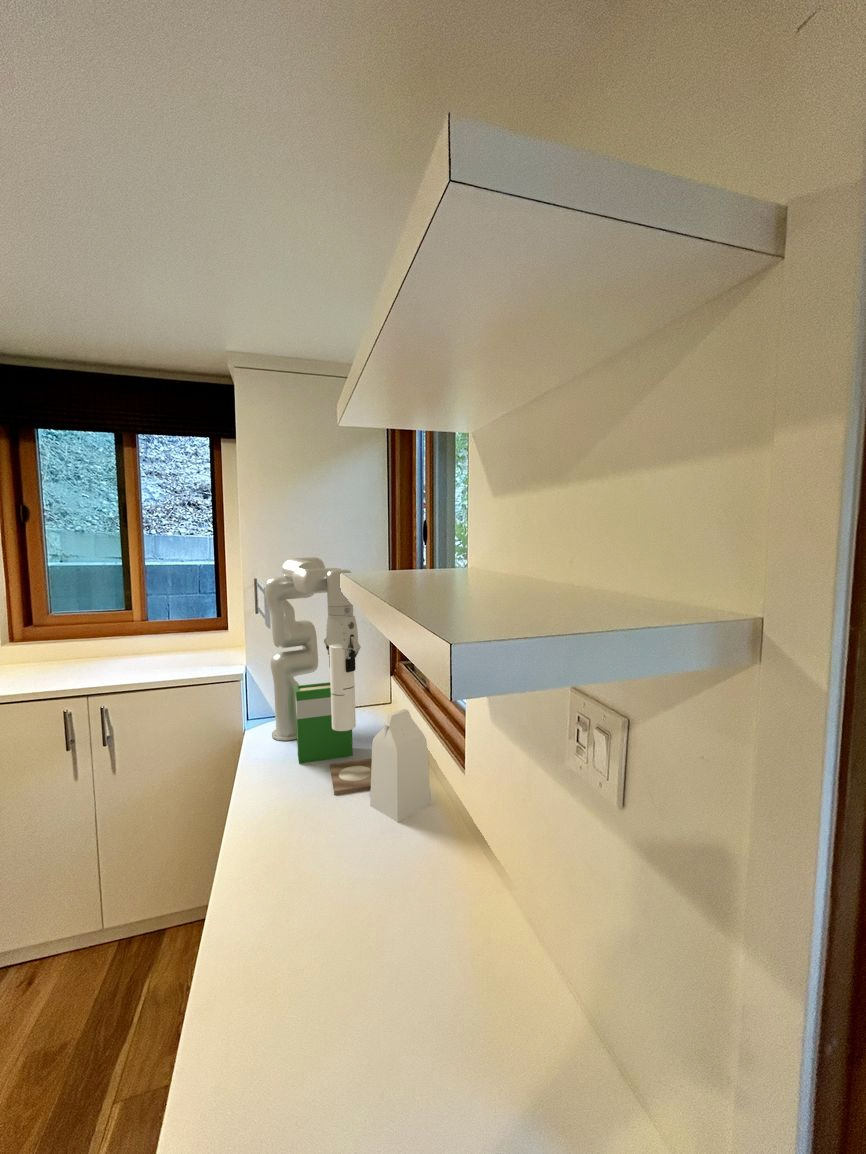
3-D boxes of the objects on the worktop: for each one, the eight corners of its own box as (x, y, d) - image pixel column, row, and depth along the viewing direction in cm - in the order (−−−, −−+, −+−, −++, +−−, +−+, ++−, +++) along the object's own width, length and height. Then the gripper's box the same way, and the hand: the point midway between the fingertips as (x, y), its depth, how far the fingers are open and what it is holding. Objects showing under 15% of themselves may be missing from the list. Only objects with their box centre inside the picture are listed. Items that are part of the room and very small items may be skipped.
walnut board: (330, 767, 158) (330, 763, 158) (373, 761, 162) (373, 757, 162) (334, 794, 141) (334, 790, 141) (382, 787, 145) (382, 783, 145)
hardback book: (349, 747, 174) (347, 680, 172) (352, 755, 167) (350, 686, 165) (297, 754, 168) (295, 685, 167) (298, 764, 161) (296, 691, 160)
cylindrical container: (358, 728, 149) (356, 646, 147) (335, 732, 145) (333, 648, 144) (351, 720, 155) (349, 642, 153) (329, 725, 152) (326, 644, 150)
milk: (403, 790, 143) (401, 702, 141) (430, 804, 135) (429, 711, 133) (370, 805, 135) (367, 712, 133) (397, 822, 127) (395, 723, 125)
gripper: (369, 611, 145) (370, 671, 146) (332, 607, 156) (334, 662, 158) (349, 614, 139) (350, 676, 140) (312, 610, 151) (314, 667, 152)
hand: (342, 668), depth 149 cm, fingers closed on cylindrical container, 7 cm apart
